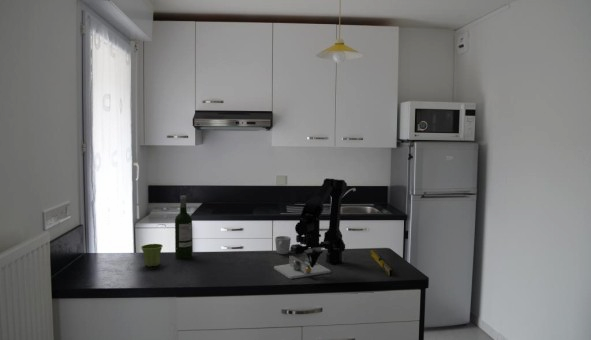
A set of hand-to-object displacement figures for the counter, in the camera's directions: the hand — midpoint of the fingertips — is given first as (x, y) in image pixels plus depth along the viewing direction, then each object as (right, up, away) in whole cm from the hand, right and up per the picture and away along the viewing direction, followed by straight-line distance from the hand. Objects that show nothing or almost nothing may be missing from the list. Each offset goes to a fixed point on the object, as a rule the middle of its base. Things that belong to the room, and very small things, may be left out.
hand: (312, 267), depth 182 cm
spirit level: (+33, -3, +18) cm, 37 cm away
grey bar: (-5, -2, +4) cm, 7 cm away
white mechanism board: (-4, -3, +7) cm, 9 cm away
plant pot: (-73, -2, +12) cm, 74 cm away
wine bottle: (-62, -1, +26) cm, 67 cm away
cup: (-14, -1, +33) cm, 36 cm away
